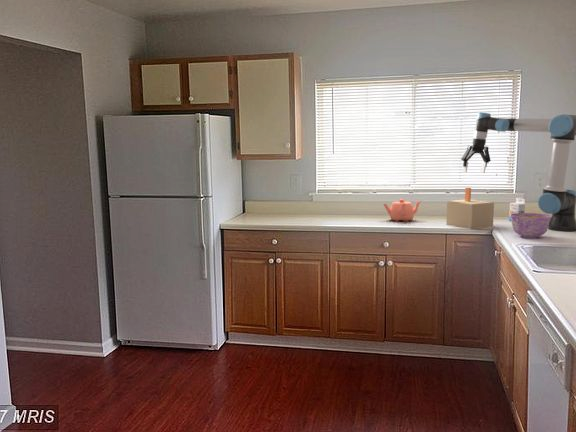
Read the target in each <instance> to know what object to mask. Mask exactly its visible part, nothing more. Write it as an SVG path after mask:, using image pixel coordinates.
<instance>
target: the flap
mask: <svg viewBox="0 0 576 432" xmlns="http://www.w3.org/2000/svg"><path fill="white" fill-rule="evenodd" d="M464 189H465V190H464V191H465V192H464V199H455V200H447V202H455V203H461V202H473V201H481V200H479V199H471V198H472V188H471V187H465V188H464Z"/></svg>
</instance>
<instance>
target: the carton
mask: <svg viewBox="0 0 576 432" xmlns="http://www.w3.org/2000/svg"><path fill="white" fill-rule="evenodd" d="M494 210H495V203H494V202H493V201H485V200H480V201H473V202H461V203H455V202H448V201H447V202H446V221H445V223H446V225H448V226H454V227H458V228H465V229H470V230H472V229H480V228H482V229H483V228H490V227H494V215H495V214H494V212H495V211H494Z"/></svg>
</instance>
